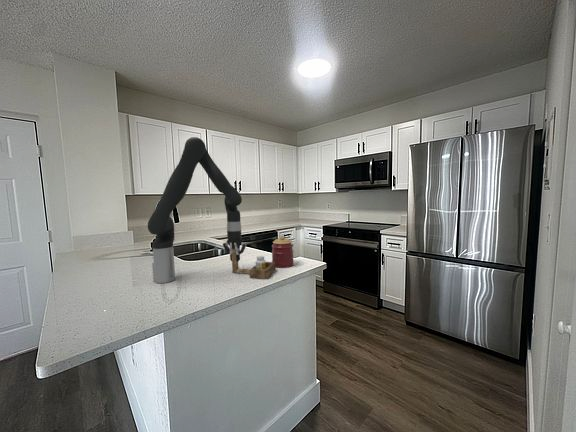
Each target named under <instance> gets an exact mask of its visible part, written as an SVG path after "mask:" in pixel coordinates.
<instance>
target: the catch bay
mask: <svg viewBox="0 0 576 432" xmlns="http://www.w3.org/2000/svg"><path fill="white" fill-rule="evenodd" d="M249 269H250V270H249V271H250V274H249V279H253V280H254V279H256V280H257V279H258V280H269V279H270V277H271V276H272V275H273V274H274V272H276V270H277V267H276V262H272V261H266V269H251V268H249Z"/></svg>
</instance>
